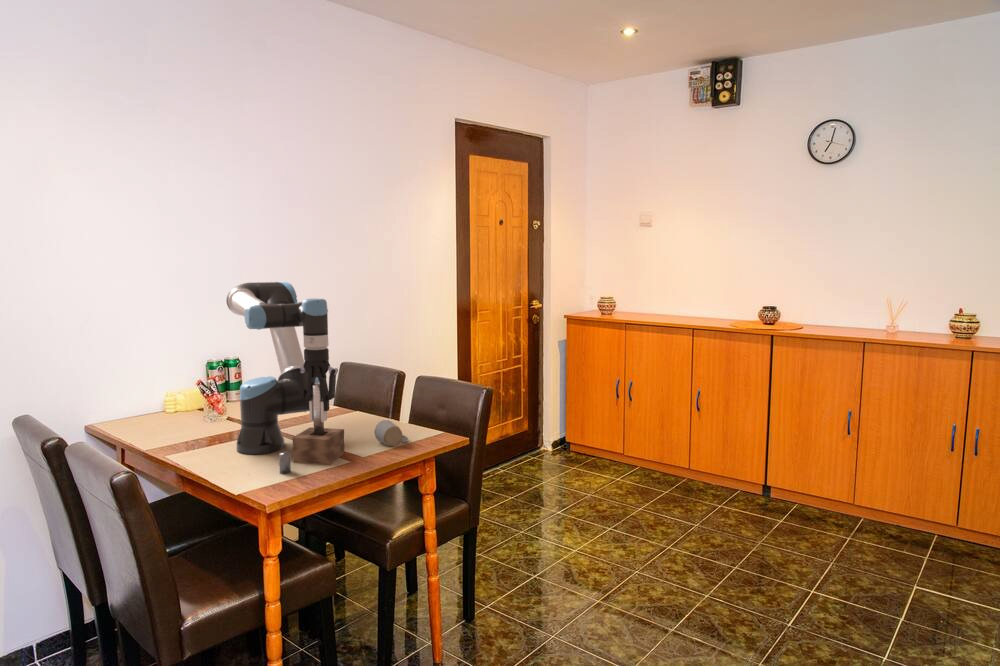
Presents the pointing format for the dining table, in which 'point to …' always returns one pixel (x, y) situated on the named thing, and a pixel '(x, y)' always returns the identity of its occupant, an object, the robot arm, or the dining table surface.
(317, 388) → the tall pin
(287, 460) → the short pin
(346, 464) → the dining table surface
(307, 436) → the hole block
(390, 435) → the ceramic mug
